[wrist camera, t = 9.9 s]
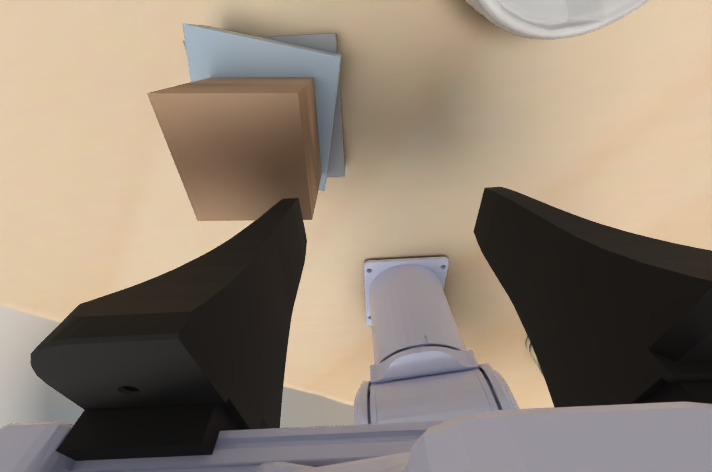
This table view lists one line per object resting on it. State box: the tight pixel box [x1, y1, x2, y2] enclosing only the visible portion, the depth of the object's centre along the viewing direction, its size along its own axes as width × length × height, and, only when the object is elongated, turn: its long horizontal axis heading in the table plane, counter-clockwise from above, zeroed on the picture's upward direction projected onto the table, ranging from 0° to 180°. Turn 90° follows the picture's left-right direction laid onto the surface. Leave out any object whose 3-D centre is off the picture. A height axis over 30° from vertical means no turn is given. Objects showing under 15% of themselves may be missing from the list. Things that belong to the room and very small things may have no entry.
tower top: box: [182, 24, 342, 191], centre depth 15 cm, size 7×7×2 cm
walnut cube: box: [147, 77, 322, 221], centre depth 13 cm, size 5×5×5 cm
